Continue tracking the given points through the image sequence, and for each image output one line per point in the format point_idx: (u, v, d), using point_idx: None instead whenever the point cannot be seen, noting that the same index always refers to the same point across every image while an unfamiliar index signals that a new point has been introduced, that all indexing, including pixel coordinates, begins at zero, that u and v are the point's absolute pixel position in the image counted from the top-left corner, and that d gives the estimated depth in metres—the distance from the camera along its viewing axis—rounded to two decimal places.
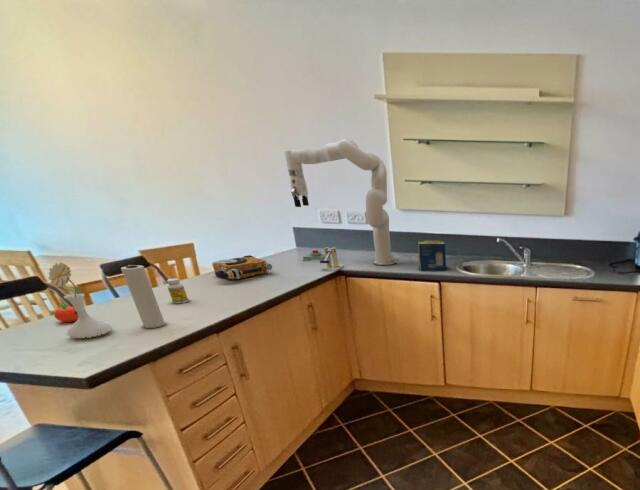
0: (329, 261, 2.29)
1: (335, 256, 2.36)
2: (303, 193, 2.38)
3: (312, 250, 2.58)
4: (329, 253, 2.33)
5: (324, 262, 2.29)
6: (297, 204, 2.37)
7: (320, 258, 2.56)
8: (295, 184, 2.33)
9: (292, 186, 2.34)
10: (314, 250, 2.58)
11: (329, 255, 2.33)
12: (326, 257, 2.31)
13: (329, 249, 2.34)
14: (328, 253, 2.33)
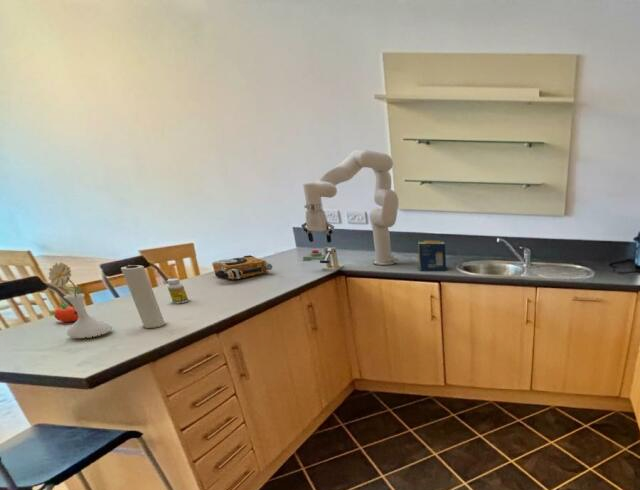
0: (329, 261, 2.29)
1: (335, 256, 2.36)
2: (313, 228, 2.19)
3: (312, 250, 2.58)
4: (329, 253, 2.33)
5: (324, 262, 2.29)
6: (309, 238, 2.24)
7: (320, 258, 2.56)
8: None
9: None
10: (314, 250, 2.58)
11: (329, 255, 2.33)
12: (326, 257, 2.31)
13: (329, 249, 2.34)
14: (328, 253, 2.33)
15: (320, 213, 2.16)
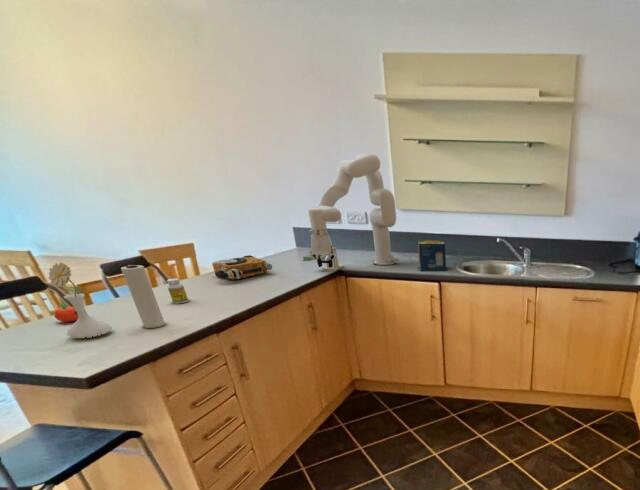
0: None
1: (335, 256, 2.36)
2: (318, 252, 2.24)
3: None
4: None
5: (324, 262, 2.29)
6: (318, 264, 2.29)
7: (320, 258, 2.56)
8: None
9: None
10: None
11: None
12: (326, 257, 2.31)
13: None
14: None
15: (325, 238, 2.21)
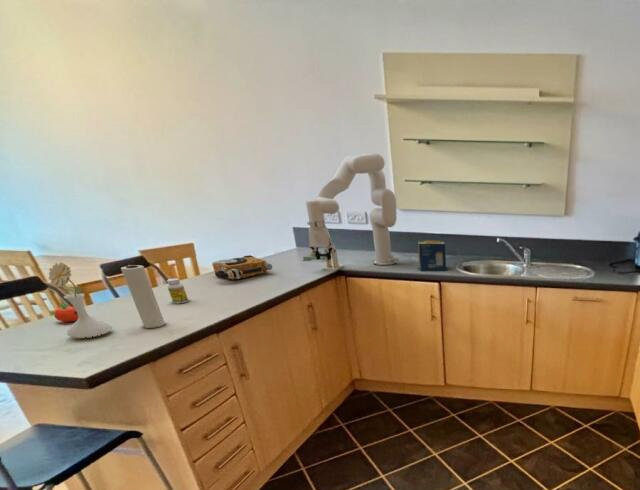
0: None
1: (335, 256, 2.36)
2: (316, 245, 2.22)
3: (312, 250, 2.58)
4: None
5: (322, 255, 2.26)
6: (316, 256, 2.27)
7: (320, 258, 2.56)
8: None
9: None
10: None
11: None
12: (325, 252, 2.29)
13: None
14: None
15: (323, 230, 2.18)
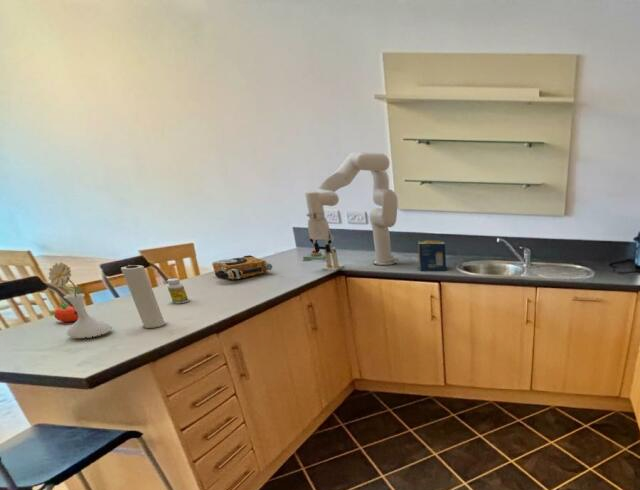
0: None
1: (335, 256, 2.36)
2: (315, 237, 2.20)
3: (312, 250, 2.58)
4: None
5: (321, 247, 2.25)
6: (315, 249, 2.26)
7: (320, 258, 2.56)
8: None
9: None
10: (314, 250, 2.58)
11: None
12: None
13: None
14: None
15: (322, 221, 2.17)
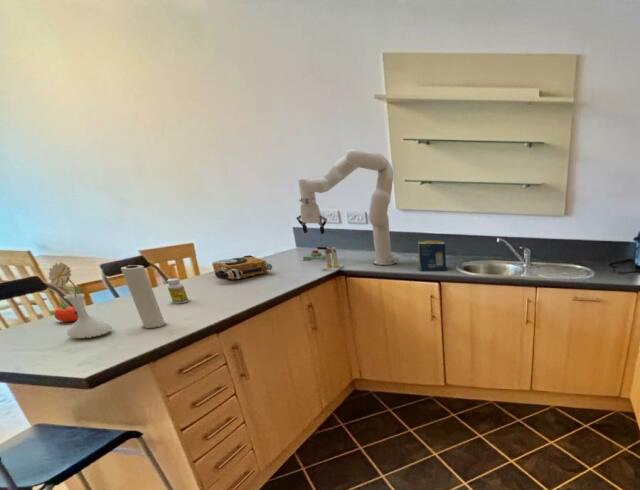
0: (327, 248, 2.25)
1: (335, 256, 2.36)
2: (307, 221, 2.38)
3: (312, 250, 2.58)
4: (328, 249, 2.32)
5: (321, 247, 2.25)
6: (303, 230, 2.43)
7: (320, 258, 2.56)
8: None
9: None
10: (314, 250, 2.58)
11: (328, 250, 2.31)
12: None
13: None
14: (327, 249, 2.32)
15: (314, 206, 2.35)
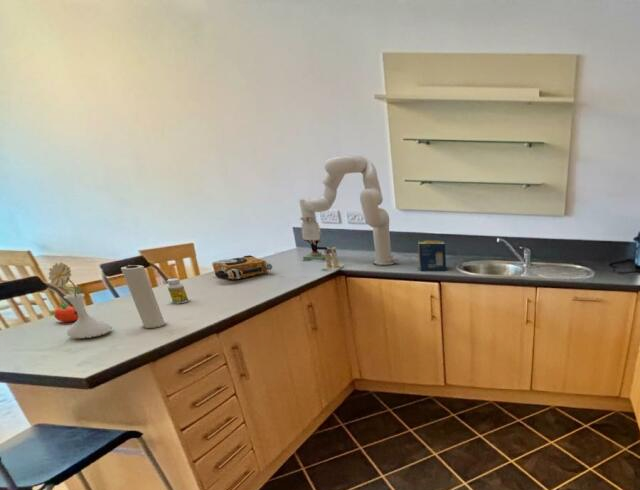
0: (327, 248, 2.25)
1: (335, 256, 2.36)
2: (308, 238, 2.52)
3: (312, 251, 2.58)
4: (328, 249, 2.32)
5: (321, 247, 2.25)
6: (312, 248, 2.58)
7: (320, 258, 2.56)
8: None
9: None
10: None
11: (328, 250, 2.31)
12: None
13: None
14: (327, 249, 2.32)
15: (314, 224, 2.49)
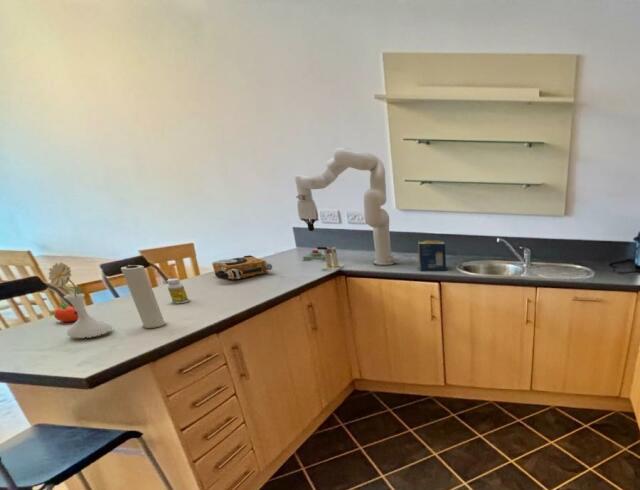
0: (327, 248, 2.25)
1: (335, 256, 2.36)
2: (304, 216, 2.47)
3: (312, 250, 2.58)
4: (328, 249, 2.32)
5: (321, 247, 2.25)
6: (308, 228, 2.52)
7: (320, 258, 2.56)
8: None
9: None
10: (314, 250, 2.58)
11: (328, 250, 2.31)
12: None
13: None
14: (327, 249, 2.32)
15: (310, 202, 2.43)
